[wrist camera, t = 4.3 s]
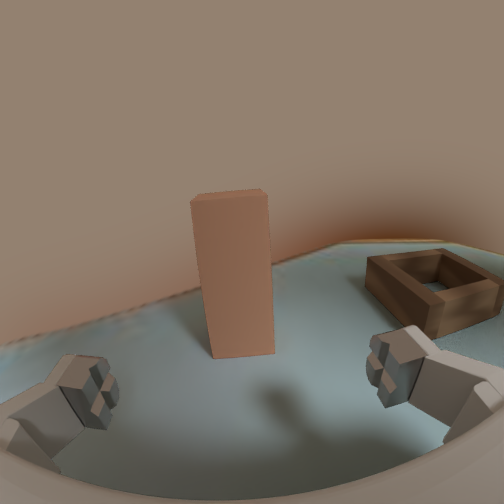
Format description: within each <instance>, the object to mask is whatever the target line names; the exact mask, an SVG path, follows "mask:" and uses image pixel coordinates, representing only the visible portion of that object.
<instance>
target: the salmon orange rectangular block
mask: <svg viewBox="0 0 504 504" xmlns="http://www.w3.org/2000/svg"><path fill="white" fill-rule="evenodd" d="M190 204H191V214H192V222H193V231H194V239H195V246H196V255H197V262H198V270H199V277H200V283H201V290H202V297H203V303H204V309H205V315H206V321H207V327H208V333H209V339H210V344H211V350H212V355H213V359H221V358H235V357H247V356H258V355H267V354H275V344H274V316H273V291H272V269H271V249H270V230H269V214H268V195H267V194H266V193H265V192H263V191H262V190H261V189H252V190H238V191H226V192H215V193H205V194H199V195H197V196H196V197H195V198H194V199H193V200H191V201H190Z"/></svg>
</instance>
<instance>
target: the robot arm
mask: <svg viewBox="0 0 504 504" xmlns="http://www.w3.org/2000/svg"><path fill="white" fill-rule="evenodd" d="M369 347H370V348H371V350H372V352H371V353H370V355H369V356H368V357H367V361H366V374H367V377H368V380H369V382H370V384H371V385H372V386H375V387H377V388H378V392H377V396H378V397H379V399H380V401H381V402H382V404H383V406H384V408H388V407H392V406H395V405H398V404H401V403H404V402H407V401H409V402H408V403H410V404H412V405H413V406H415V407H417V408H418V409H420V410H422V411H423V412H425V413H427V414H428V415H430V416H432V417H434V418H435V419H437V420H439V421H440V422H442V423H444V424H446V425H447V426H449V427H451V428H450V429H449V431H448V432H447V434H446V435H445V437H444V439H443V441H442V442H443V443H444V445H442V446H440V447H438V448H436V449H434V450H432V451H430V452H428V453H426V454H424V455H422V456H419V457H417V458H415V459H413V460H410V461H408V462H406V463H403V464H401V465H398V466H396V467H393V468H391V469H388V470H385V471H383V472H380V473H377V474H374V475H371V476H368V477H365V478H362V479H359V480H355V481H352V482H348V483H345V484H341V485H337V486H333V487H329V488H324V489H320V490H315V491H310V492H305V493H299V494H293V495H286V496H279V497H271V498H261V499H248V500H223V501H209V500H184V499H172V498H162V497H154V496H147V495H140V494H134V493H129V492H123V491H118V490H114V489H109V488H105V487H101V486H97V485H93V484H90V483H86V482H83V481H79V480H76V479H73V478H70V477H67V476H64V475H61V474H60V472H61V471H60V469H59V467H58V466H57V465H56V464H55V463H54V462H53V461H52V460H51V458H53V457H54V456H55V455H56V454H57V453H58V452H59V451H60V450H62V449H63V448H64V447H65V446H66V445H67V444H68V443H69V442H70V441H72V440H73V439H74V438H75V437H76V436H77V435H78V434H79V433H80V432H82V431H83V430H84V429H85V427H88V428H94V429H101V430H107V429H108V426H109V424H110V421H111V418H112V416H113V415H112V413H111V409H112V408H114V407H115V406H116V405H117V402H118V400H119V388H118V384H117V381H116V379H115V378H114V377H113V376H112V375H111V374H110V373H109V370H110V366H109V364H108V362H107V359H105V358H103V357H93V356H83V355H72V354H66V355H63V356H62V358H61V359H60V360H59V362H58V363H57V365H56V366H55V367H54V369H53V370H52V372H51V373H50V374H49V376H48V377H47V379H46V380H45V382H44V383H39V384H37V385H35V386H33V387H31V388H30V389H28V390H26V391H24V392H22V393H20V394H19V395H17V396H15V397H13V398H11V399H10V400H8V401H6V402H4V403H2V404H0V504H504V369H503V368H500V367H497V366H493V365H490V364H487V363H484V362H481V361H478V360H475V359H471V358H468V357H465V356H462V355H459V354H456V353H453V352H450V351H447V350H443V351H441V350H440V349H439V348H438V347H437V346H436V345H435V344H434V343H433V342H432V341H431V340H430V339H429V338H428V337H427V336H426V335H425V334H424V333H423V332H422V331H421V330H420V329H419V328H418V327H417V326H414V325H411V326H407V327H404V328H400V329H398V330H394V331H390V332H386V333H382V334H377V335H373V336H372V338H371V340H370V345H369Z"/></svg>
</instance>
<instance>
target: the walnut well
mask: <svg viewBox="0 0 504 504" xmlns="http://www.w3.org/2000/svg"><path fill="white" fill-rule="evenodd" d="M435 281H439V282H440V283H442V284H443V285H445V286H446V287H448V288H449V289H447V290H442V291H438V292H432V291H431V290H429V289H428V288H427V287H425V286H424V285H423V284H425V283H430V282H435ZM365 287H366V288H367V289H368V290H369V291H370V292H371V293H372V294H373V295H374V296H375V297H376V298H377V299H378V300H379V301H380V302H381V303H382V304H383V305H384V306H385V307H386V308H387V309H388V310H389V311H390V312H391V313H392V314H393V315H394V316H395V317H396V318H397V319H398V320H399V321H400V322H401V323H402V324H403V325H404V326H405V327H407V326H411V325H414V326H417V327H418V328H419V329H420V330H421V331H422V332H423V333H424V334H425V335H426V336H427V337H428V338H429V339H430V340H433V339H436V338H439V337H442V336H445V335H448V334H451V333H453V332H456V331H459V330H462V329H464V328H467V327H470V326H472V325H475V324H477V323H480V322H482V321H484V320H487V319H489V318H492V317H494V316H496V315H498V314H499V313H500V310H501V307H502V303H503V300H504V280H502V279H501V278H499V277H497V276H495V275H494V274H492V273H490V272H488V271H486V270H484V269H483V268H481V267H479V266H477V265H475V264H473V263H471V262H469V261H468V260H466V259H464V258H462V257H460V256H458V255H456V254H454V253H452V252H450V251H448V250H446V249H444V248H441V249H433V250H424V251H416V252H407V253H398V254H389V255H380V256H371V257H367V267H366V279H365Z"/></svg>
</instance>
